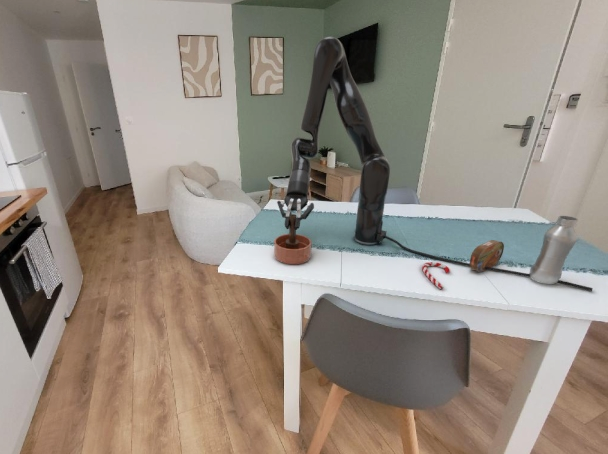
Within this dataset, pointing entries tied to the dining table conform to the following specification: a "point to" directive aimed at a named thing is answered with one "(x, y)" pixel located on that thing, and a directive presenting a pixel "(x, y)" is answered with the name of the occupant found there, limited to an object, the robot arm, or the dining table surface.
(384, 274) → the dining table surface
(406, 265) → the dining table surface
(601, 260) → the dining table surface
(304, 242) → the bowl
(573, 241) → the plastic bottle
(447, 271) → the candy cane
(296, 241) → the pestle
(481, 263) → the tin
